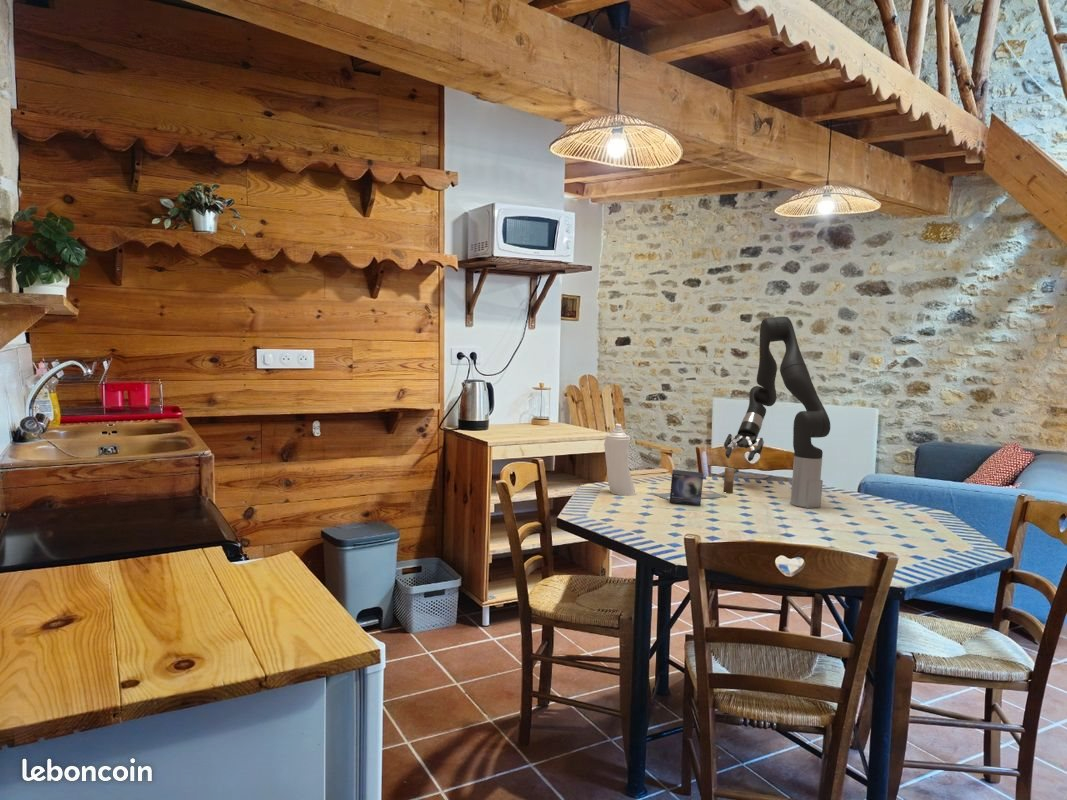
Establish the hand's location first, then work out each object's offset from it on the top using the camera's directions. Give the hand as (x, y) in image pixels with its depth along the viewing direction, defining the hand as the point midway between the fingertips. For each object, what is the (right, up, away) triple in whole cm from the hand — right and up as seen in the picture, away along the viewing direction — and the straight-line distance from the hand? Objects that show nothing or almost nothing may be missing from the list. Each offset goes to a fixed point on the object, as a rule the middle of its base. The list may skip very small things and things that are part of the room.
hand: (738, 458), depth 268 cm
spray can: (-48, -12, -14) cm, 51 cm away
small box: (-26, -13, -26) cm, 39 cm away
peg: (-5, -12, -6) cm, 15 cm away
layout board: (-22, -12, -15) cm, 29 cm away
